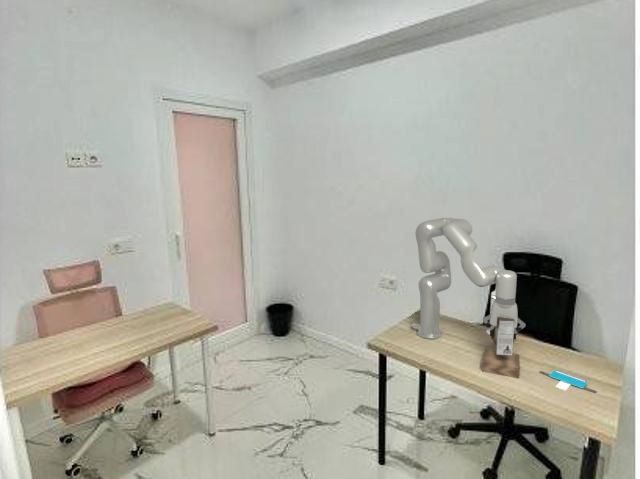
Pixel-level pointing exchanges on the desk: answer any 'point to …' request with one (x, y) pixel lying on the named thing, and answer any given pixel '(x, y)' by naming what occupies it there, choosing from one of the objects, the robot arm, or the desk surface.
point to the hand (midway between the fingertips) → (502, 338)
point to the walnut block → (501, 364)
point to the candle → (491, 308)
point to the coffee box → (503, 336)
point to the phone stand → (568, 380)
